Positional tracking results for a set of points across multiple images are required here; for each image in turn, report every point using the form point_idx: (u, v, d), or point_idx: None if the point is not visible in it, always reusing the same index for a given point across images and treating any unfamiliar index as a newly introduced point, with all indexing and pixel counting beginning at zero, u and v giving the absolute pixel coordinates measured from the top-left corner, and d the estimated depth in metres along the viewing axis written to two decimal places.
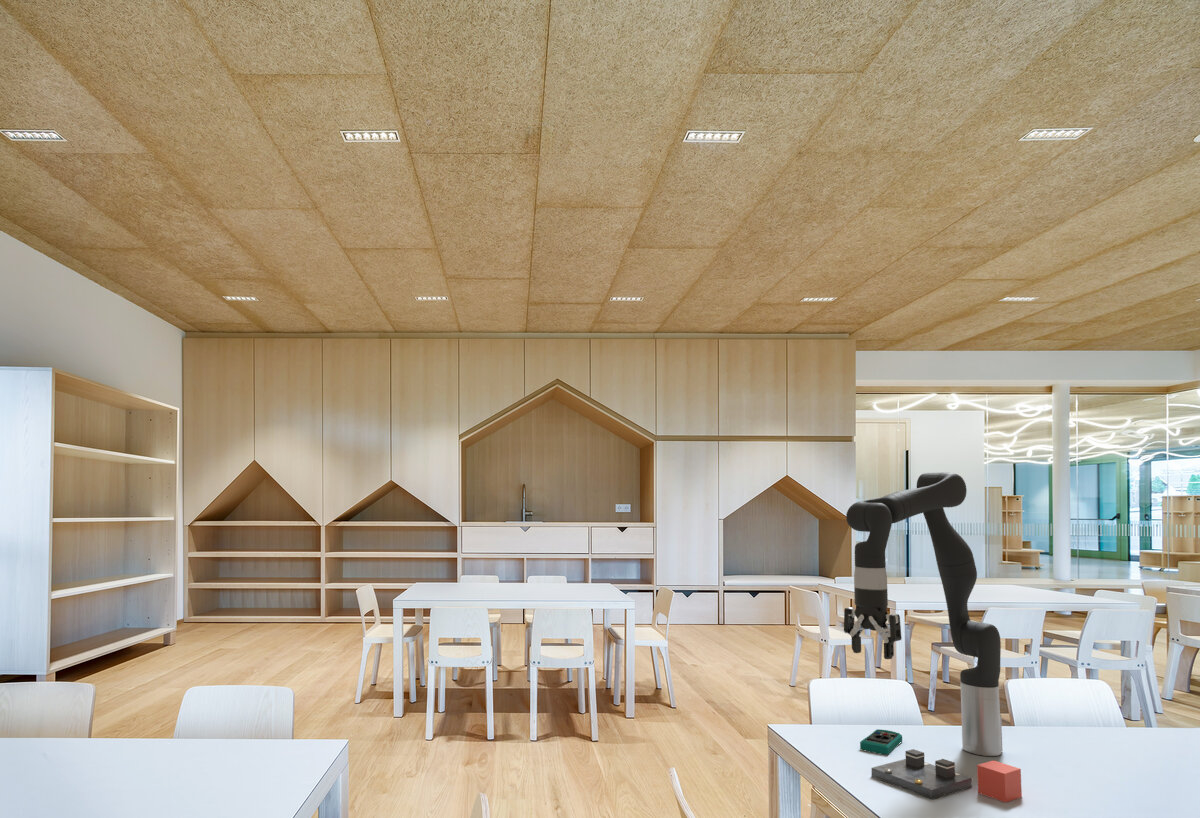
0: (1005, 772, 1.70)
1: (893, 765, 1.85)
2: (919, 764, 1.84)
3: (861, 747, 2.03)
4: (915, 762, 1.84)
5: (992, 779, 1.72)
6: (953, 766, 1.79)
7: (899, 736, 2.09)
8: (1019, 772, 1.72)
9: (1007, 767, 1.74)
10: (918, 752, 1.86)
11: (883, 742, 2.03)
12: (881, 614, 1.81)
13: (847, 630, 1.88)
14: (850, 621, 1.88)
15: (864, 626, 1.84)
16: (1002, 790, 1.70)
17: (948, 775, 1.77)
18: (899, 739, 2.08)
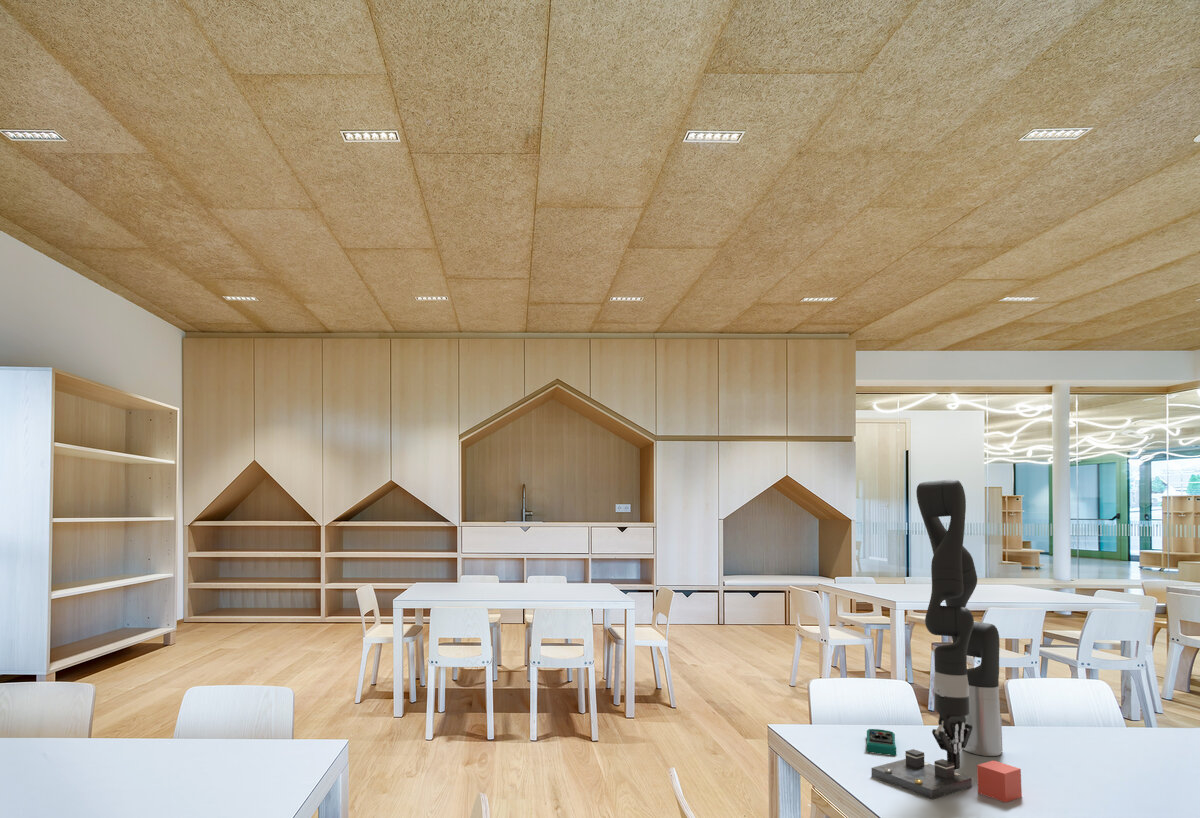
0: (1005, 772, 1.70)
1: (893, 765, 1.85)
2: (919, 764, 1.84)
3: (868, 749, 2.01)
4: (915, 762, 1.84)
5: (992, 779, 1.72)
6: (952, 766, 1.78)
7: (893, 734, 2.10)
8: (1019, 772, 1.72)
9: (1007, 767, 1.74)
10: (918, 752, 1.86)
11: (887, 742, 2.03)
12: (965, 719, 1.83)
13: (951, 748, 1.79)
14: None
15: None
16: (1002, 790, 1.70)
17: (947, 776, 1.77)
18: (894, 737, 2.09)
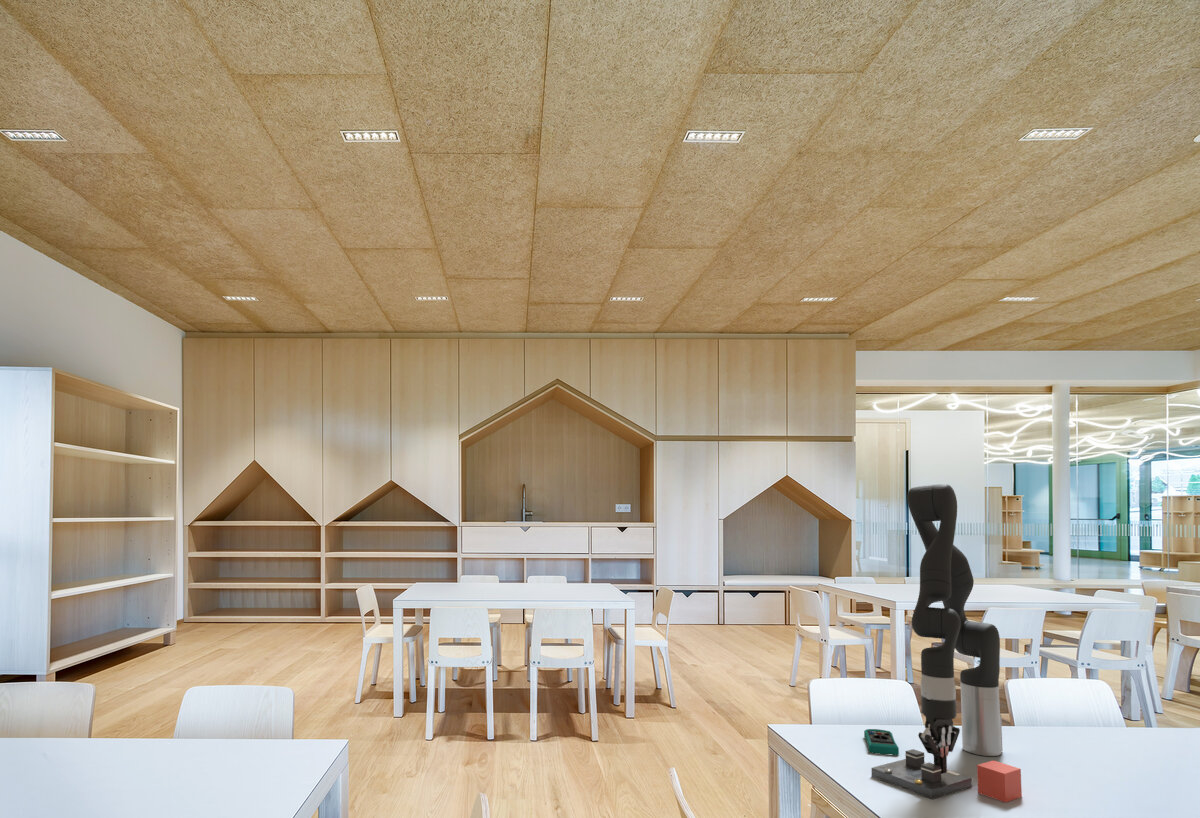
0: (1005, 772, 1.70)
1: (893, 765, 1.85)
2: (919, 764, 1.84)
3: (870, 750, 2.00)
4: (915, 762, 1.84)
5: (992, 779, 1.72)
6: (939, 770, 1.76)
7: (891, 734, 2.10)
8: (1019, 772, 1.72)
9: (1007, 767, 1.74)
10: (918, 752, 1.86)
11: (888, 742, 2.03)
12: (952, 722, 1.80)
13: (938, 752, 1.77)
14: None
15: None
16: (1002, 790, 1.70)
17: (933, 780, 1.74)
18: (892, 736, 2.10)
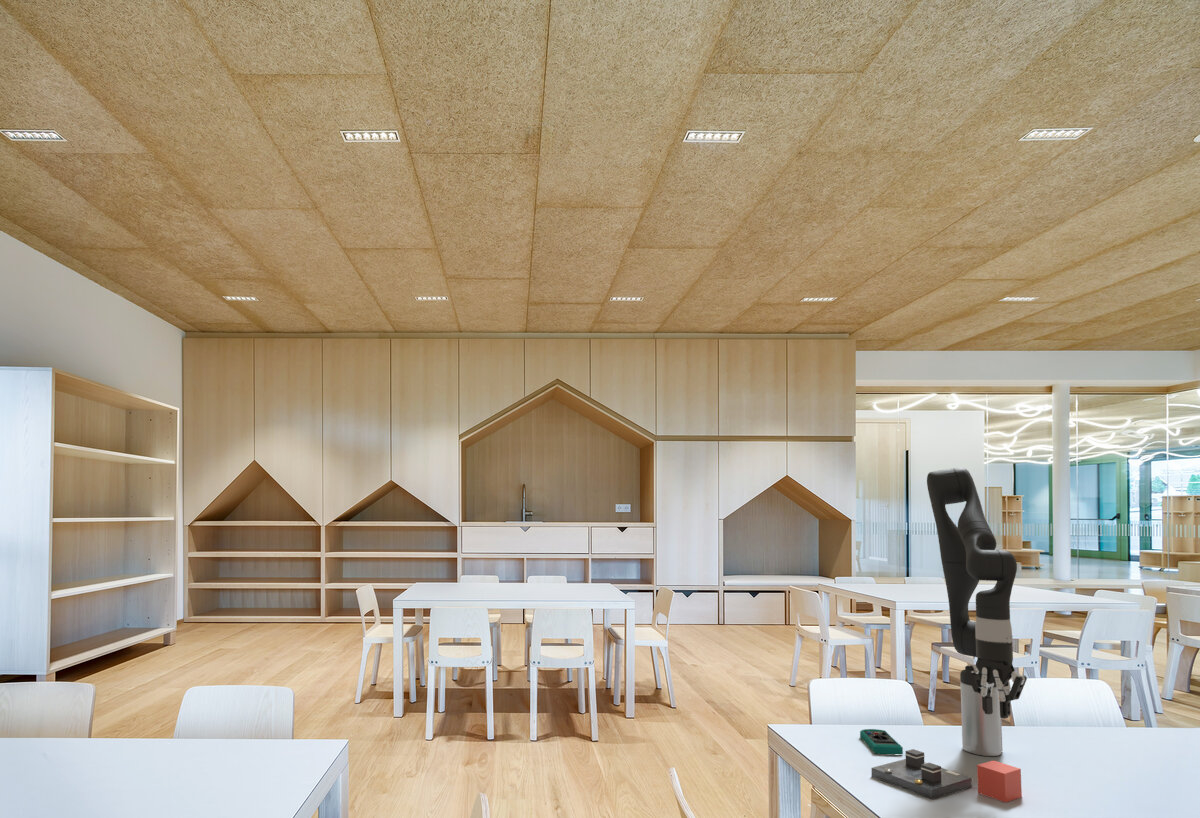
0: (1005, 772, 1.70)
1: (893, 765, 1.85)
2: (919, 764, 1.84)
3: (876, 751, 2.00)
4: (915, 762, 1.84)
5: (992, 779, 1.72)
6: (939, 770, 1.76)
7: (887, 733, 2.11)
8: (1019, 772, 1.72)
9: (1007, 767, 1.74)
10: (918, 752, 1.86)
11: (890, 742, 2.03)
12: None
13: None
14: None
15: None
16: (1002, 790, 1.70)
17: (933, 780, 1.74)
18: None
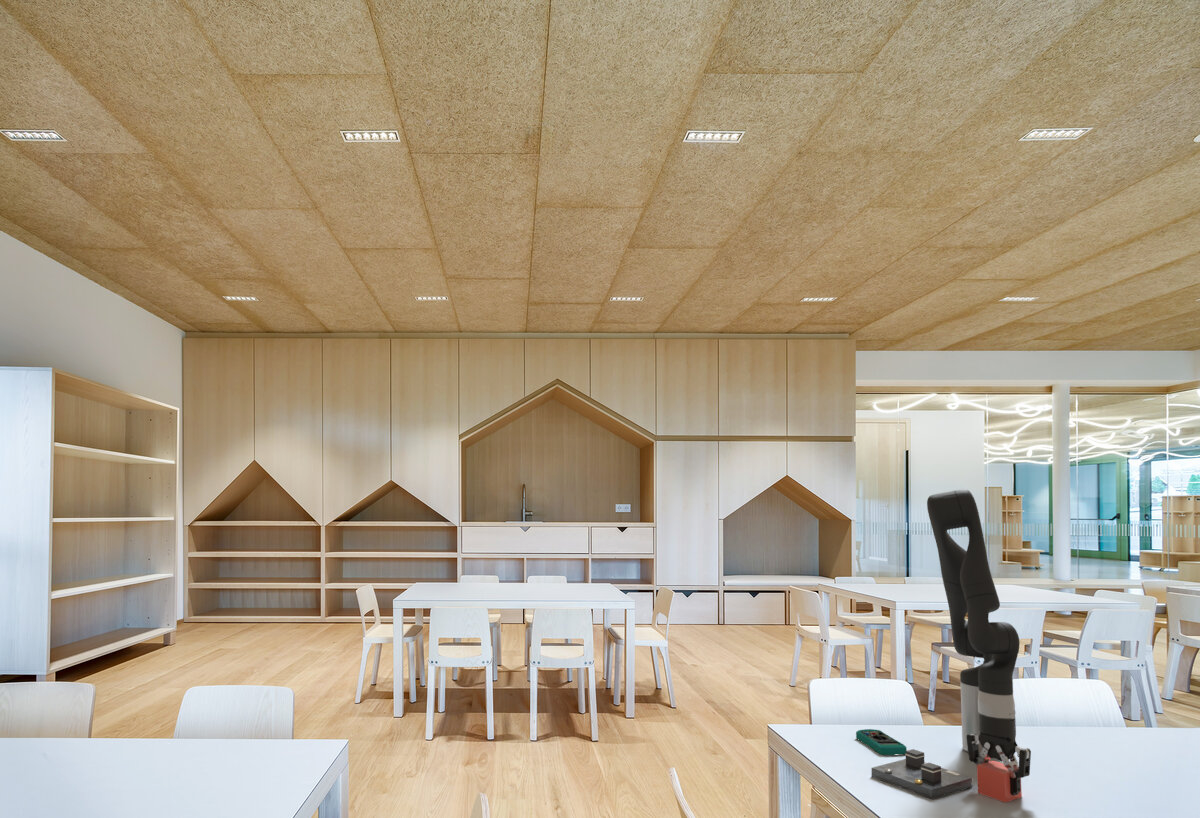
0: (1005, 772, 1.70)
1: (893, 765, 1.85)
2: (919, 764, 1.84)
3: (882, 752, 1.99)
4: (915, 762, 1.84)
5: (992, 779, 1.72)
6: (939, 770, 1.76)
7: (883, 733, 2.12)
8: None
9: None
10: (918, 752, 1.86)
11: (892, 742, 2.03)
12: None
13: None
14: None
15: None
16: (1002, 790, 1.70)
17: (933, 780, 1.74)
18: None
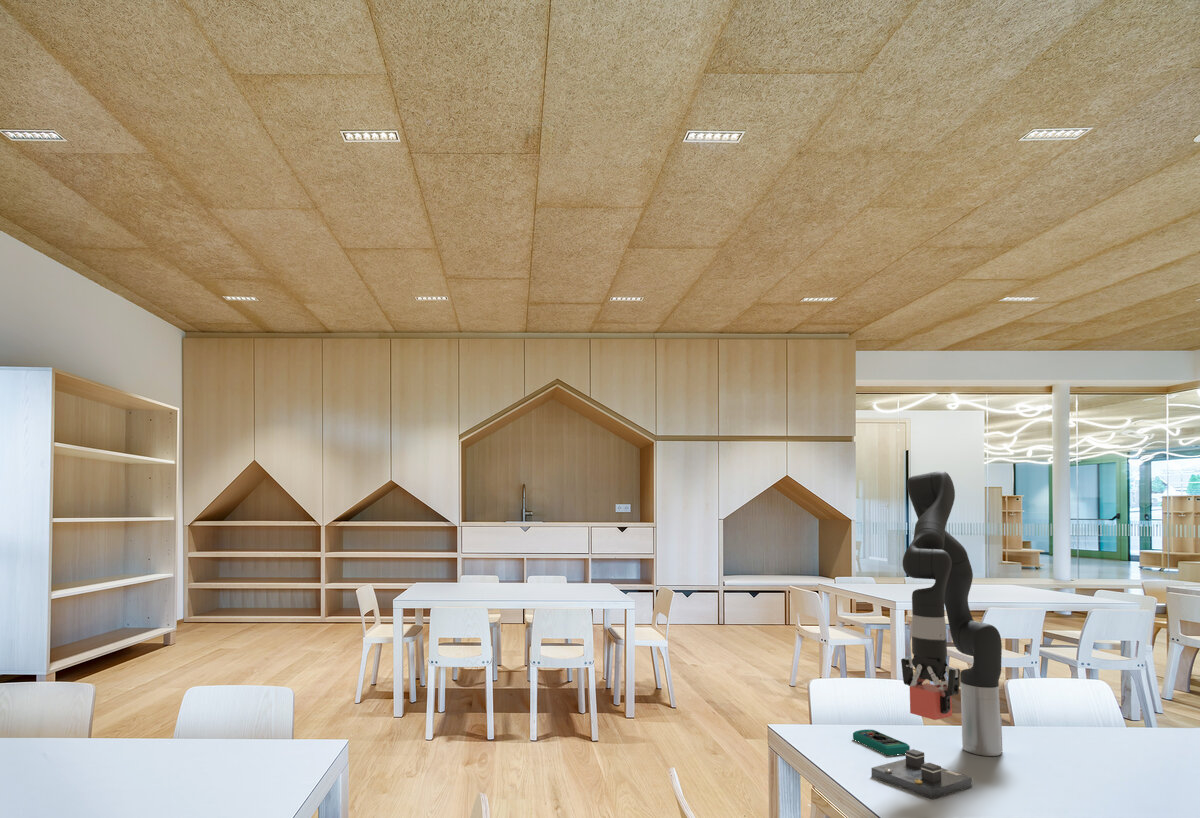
0: (935, 691, 1.75)
1: (893, 765, 1.85)
2: (919, 764, 1.84)
3: (889, 753, 1.98)
4: (915, 762, 1.84)
5: (923, 699, 1.77)
6: (939, 770, 1.76)
7: None
8: None
9: None
10: (918, 752, 1.86)
11: (893, 742, 2.03)
12: None
13: None
14: None
15: None
16: (932, 708, 1.75)
17: (933, 780, 1.74)
18: None
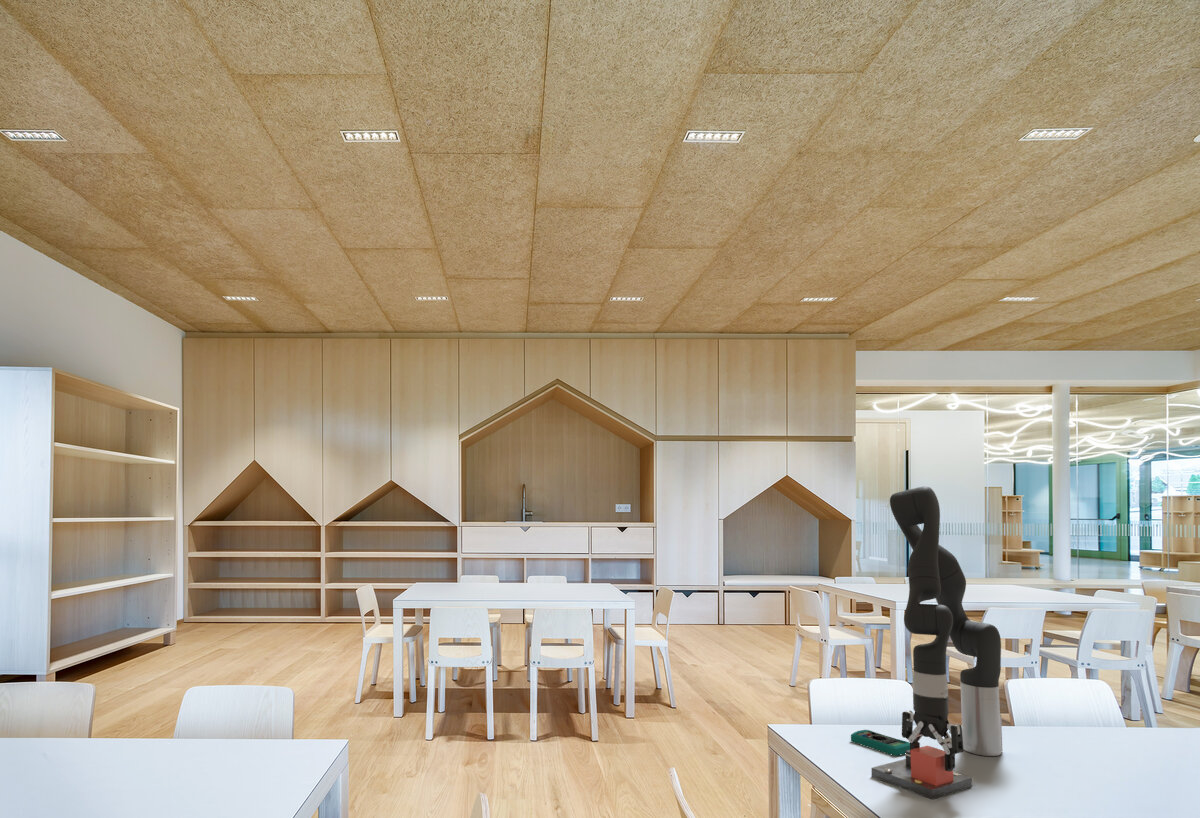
0: (936, 756, 1.74)
1: (893, 765, 1.85)
2: None
3: (896, 753, 1.98)
4: None
5: (924, 763, 1.75)
6: None
7: None
8: None
9: (940, 751, 1.77)
10: None
11: (895, 741, 2.04)
12: None
13: None
14: None
15: None
16: (933, 774, 1.73)
17: None
18: None
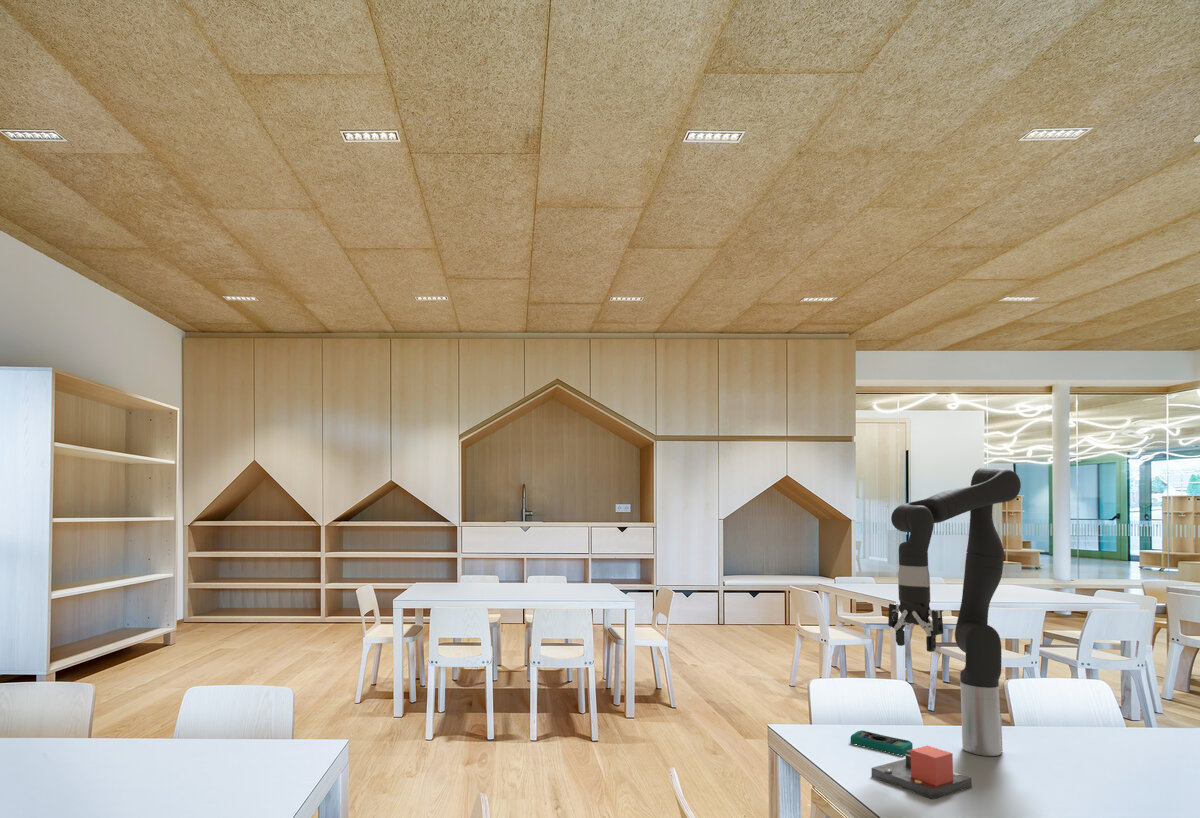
0: (936, 756, 1.74)
1: (893, 765, 1.85)
2: None
3: (903, 753, 1.99)
4: None
5: (924, 763, 1.75)
6: None
7: None
8: (951, 757, 1.76)
9: (940, 751, 1.77)
10: None
11: (896, 741, 2.05)
12: None
13: None
14: None
15: None
16: (933, 774, 1.73)
17: None
18: None
